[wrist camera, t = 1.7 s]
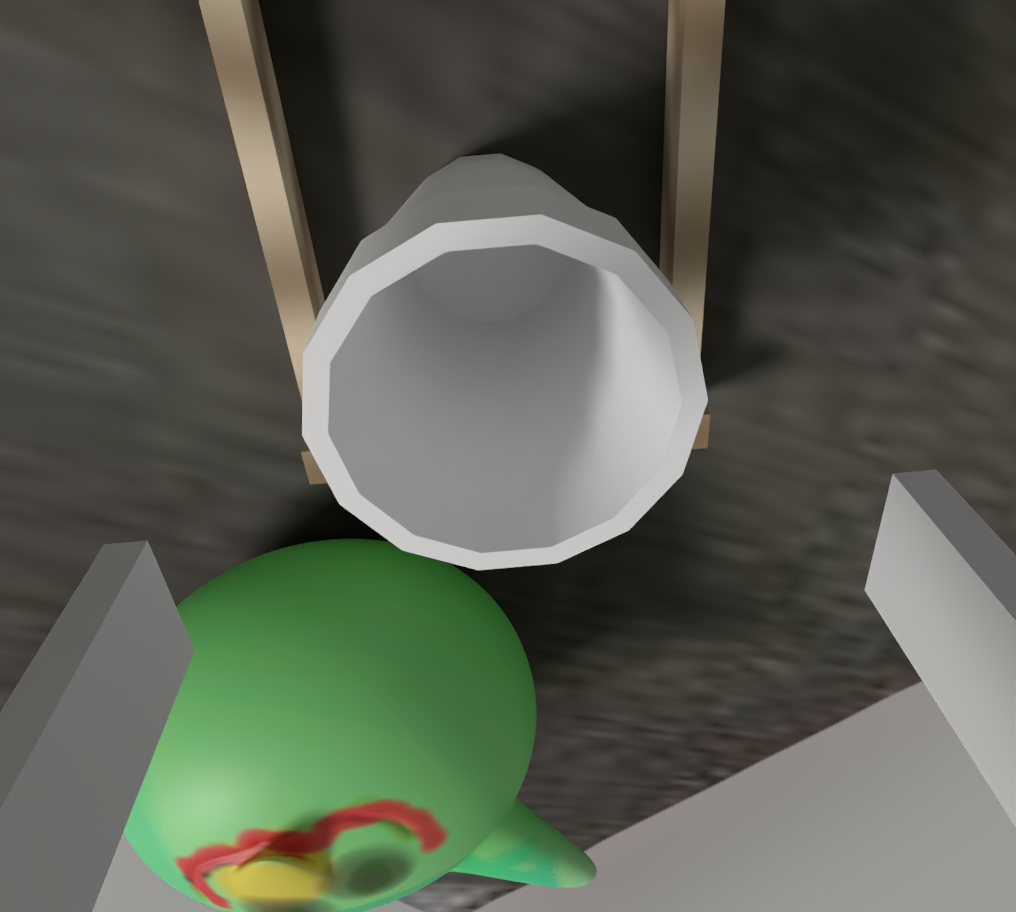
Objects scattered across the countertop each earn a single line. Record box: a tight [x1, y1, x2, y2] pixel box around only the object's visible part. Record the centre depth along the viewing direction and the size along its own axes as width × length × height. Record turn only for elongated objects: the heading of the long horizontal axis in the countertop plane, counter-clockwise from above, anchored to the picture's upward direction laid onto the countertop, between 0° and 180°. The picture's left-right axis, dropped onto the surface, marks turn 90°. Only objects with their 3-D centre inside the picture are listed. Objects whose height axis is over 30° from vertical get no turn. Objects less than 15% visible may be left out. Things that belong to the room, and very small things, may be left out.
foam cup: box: [302, 153, 708, 570], centre depth 23 cm, size 10×9×13 cm
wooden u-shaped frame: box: [199, 0, 726, 485], centre depth 27 cm, size 16×15×4 cm
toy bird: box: [123, 539, 597, 912], centre depth 33 cm, size 18×17×15 cm
